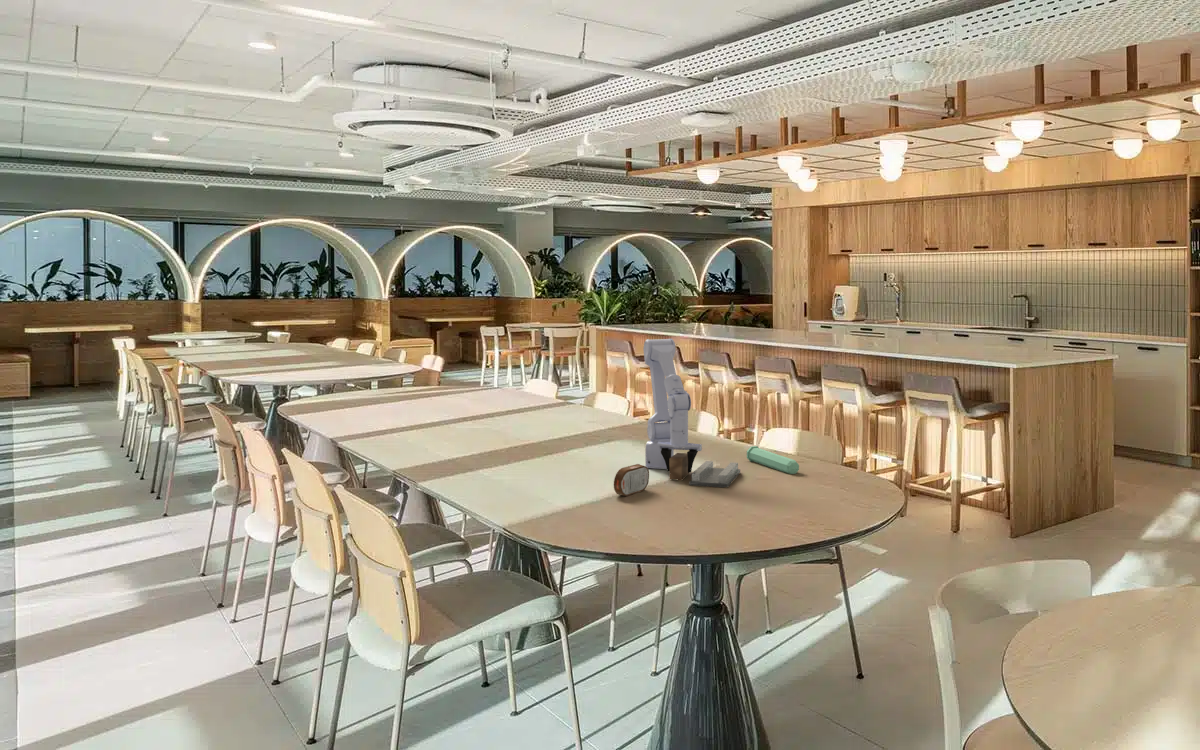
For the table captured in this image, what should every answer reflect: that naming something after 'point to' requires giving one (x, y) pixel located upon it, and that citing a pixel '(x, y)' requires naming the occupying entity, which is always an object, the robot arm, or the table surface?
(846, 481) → the table surface
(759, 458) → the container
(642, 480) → the tin
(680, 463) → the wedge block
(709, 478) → the slot base
